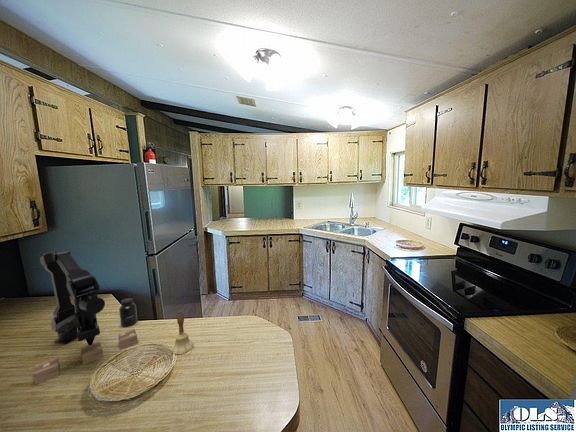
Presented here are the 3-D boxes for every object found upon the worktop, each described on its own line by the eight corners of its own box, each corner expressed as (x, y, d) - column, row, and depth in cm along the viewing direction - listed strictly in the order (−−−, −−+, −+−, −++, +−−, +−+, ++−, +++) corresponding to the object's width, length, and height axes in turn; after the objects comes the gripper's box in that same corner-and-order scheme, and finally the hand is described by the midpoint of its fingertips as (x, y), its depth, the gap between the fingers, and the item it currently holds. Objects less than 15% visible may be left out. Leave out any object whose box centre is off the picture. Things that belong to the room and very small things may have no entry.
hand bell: (182, 339, 104) (179, 304, 102) (198, 343, 101) (194, 307, 99) (166, 352, 97) (162, 314, 95) (182, 356, 94) (179, 318, 92)
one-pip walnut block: (37, 375, 87) (35, 364, 87) (59, 366, 91) (58, 356, 90) (35, 385, 83) (33, 374, 82) (59, 375, 87) (57, 365, 86)
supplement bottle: (129, 328, 114) (126, 304, 113) (117, 326, 116) (114, 303, 114) (141, 320, 121) (138, 297, 120) (129, 318, 123) (126, 296, 121)
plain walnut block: (81, 357, 95) (80, 348, 95) (100, 350, 100) (99, 341, 99) (83, 365, 91) (81, 355, 91) (103, 357, 95) (101, 347, 95)
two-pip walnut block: (119, 343, 104) (118, 334, 103) (135, 337, 108) (134, 328, 107) (120, 350, 99) (119, 340, 99) (137, 343, 103) (136, 334, 102)
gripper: (56, 306, 94) (62, 343, 96) (55, 325, 80) (62, 368, 82) (93, 296, 102) (98, 331, 104) (97, 313, 88) (102, 352, 90)
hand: (90, 344), depth 95 cm, fingers closed
